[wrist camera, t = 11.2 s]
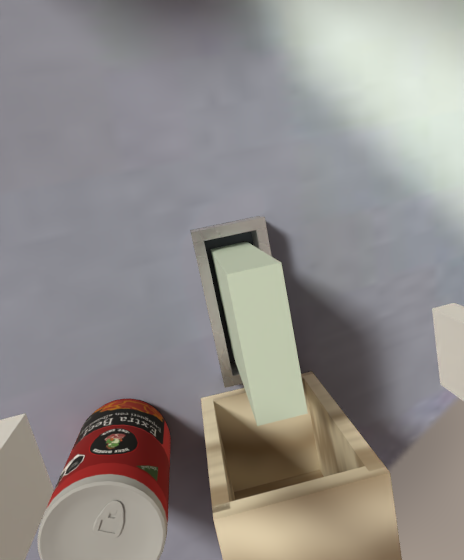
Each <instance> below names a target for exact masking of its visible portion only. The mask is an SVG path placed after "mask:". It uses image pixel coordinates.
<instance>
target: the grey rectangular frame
mask: <svg viewBox="0 0 464 560" xmlns="http://www.w3.org/2000/svg"><path fill="white" fill-rule="evenodd" d="M249 231H251V233H252V238H253V244H254V246H255V247H256V248H258V249H260V250H261V251H263V252H265V253H266V254H268V255H270V256H271V257H272V255H271V250H270V244H269V239H268V233H267V227H266V222H265V217H261V216H256V217H251V218H246V219H241V220H237V221H232V222H227V223H222V224H217V225H213V226H208V227H203V228H198V229H194V230H190V232H191V236H192V241H193V245H194V250H195V254H196V259H197V263H198V268H199V273H200V277H201V282H202V286H203V291H204V295H205V300H206V305H207V309H208V314H209V318H210V323H211V327H212V332H213V336H214V341H215V346H216V350H217V355H218V359H219V364H220V368H221V373H222V377H223V381H224V386H225V388H226V387H230V386H234V385H238V384H242V383H243V382H242V379H241V377H240V374H239V371H238V368H237V365H236V362H234V363H230V361H229V356H228V351H227V347H226V342H225V337H224V333H223V328H222V323H221V319H220V314H219V309H218V305H217V300H216V295H215V291H214V286H213V281H212V276H211V272H210V267H209V262H208V258H207V253H206V248H205V244H204V241H206V240H211V239H216V238H220V237H225V236H230V235H235V234H239V233H244V232H249Z"/></svg>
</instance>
